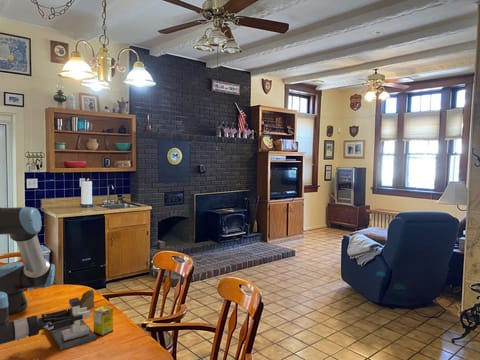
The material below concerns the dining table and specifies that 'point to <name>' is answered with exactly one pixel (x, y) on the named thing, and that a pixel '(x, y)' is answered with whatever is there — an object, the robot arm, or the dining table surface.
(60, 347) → the base
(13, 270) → the robot arm
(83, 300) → the rock
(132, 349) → the dining table surface
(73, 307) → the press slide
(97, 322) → the supplement box
